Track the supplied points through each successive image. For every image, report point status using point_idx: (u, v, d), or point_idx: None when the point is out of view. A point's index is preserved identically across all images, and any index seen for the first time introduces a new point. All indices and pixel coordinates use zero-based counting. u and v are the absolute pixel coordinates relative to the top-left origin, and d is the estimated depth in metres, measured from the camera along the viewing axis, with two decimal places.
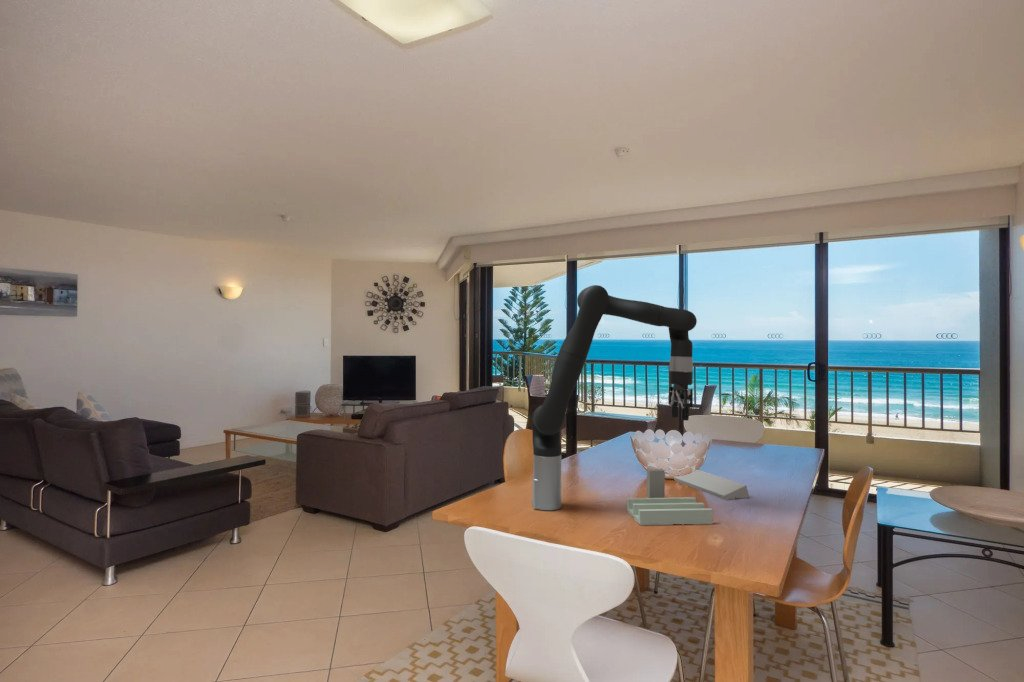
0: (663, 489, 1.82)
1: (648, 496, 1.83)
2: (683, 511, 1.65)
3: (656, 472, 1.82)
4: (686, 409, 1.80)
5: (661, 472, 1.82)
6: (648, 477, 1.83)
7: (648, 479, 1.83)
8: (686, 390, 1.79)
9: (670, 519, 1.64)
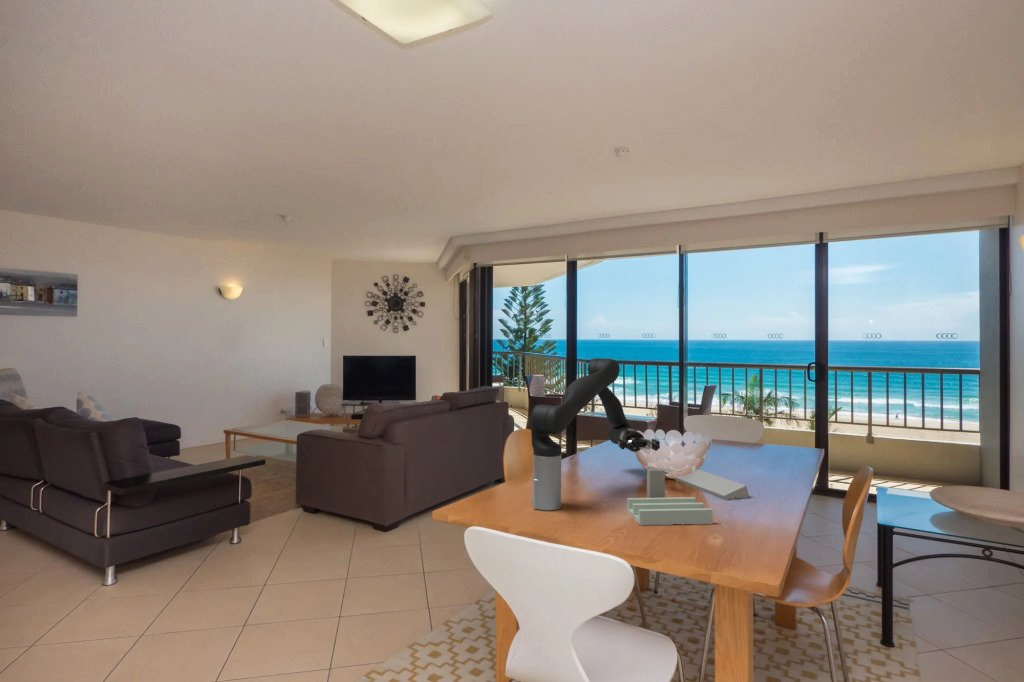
0: (663, 489, 1.82)
1: (648, 496, 1.83)
2: (683, 511, 1.65)
3: (656, 472, 1.82)
4: None
5: (661, 472, 1.82)
6: (648, 477, 1.83)
7: (648, 479, 1.83)
8: None
9: (670, 519, 1.64)
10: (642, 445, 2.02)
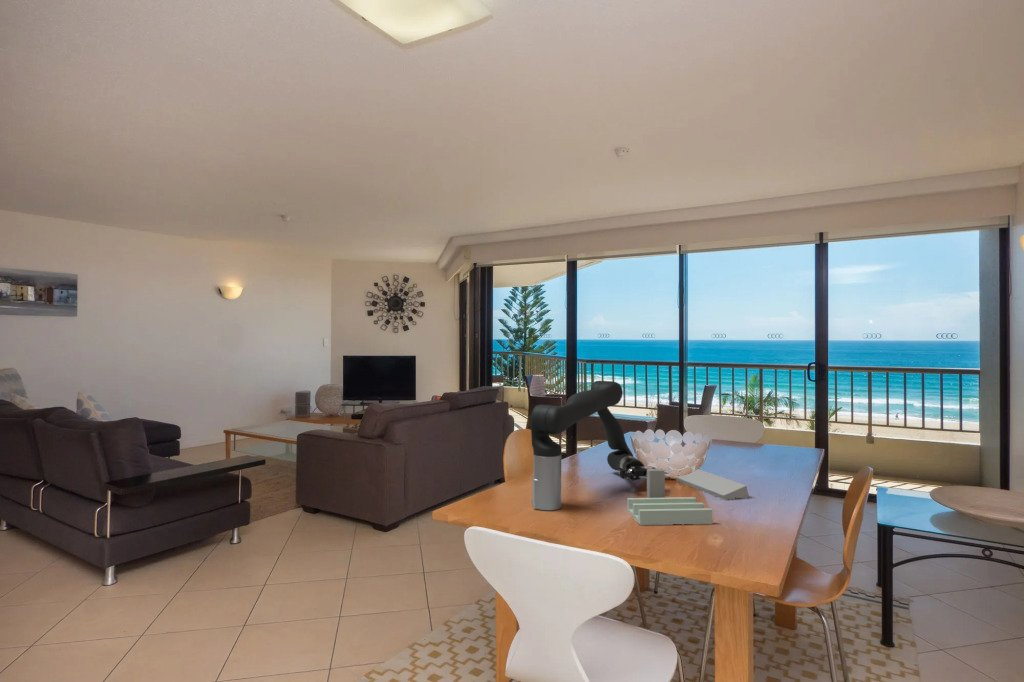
0: (663, 489, 1.82)
1: (648, 496, 1.83)
2: (683, 511, 1.65)
3: (656, 472, 1.82)
4: None
5: (661, 472, 1.82)
6: (648, 477, 1.83)
7: (648, 479, 1.83)
8: None
9: (670, 519, 1.64)
10: (642, 474, 2.01)
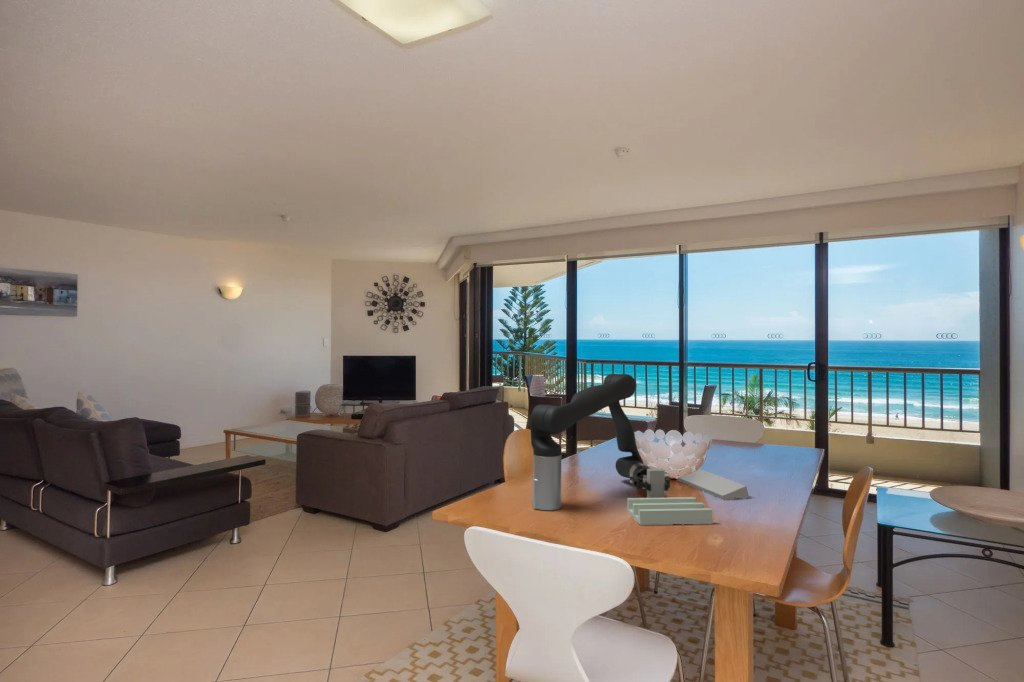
0: (663, 489, 1.82)
1: (648, 496, 1.83)
2: (683, 511, 1.65)
3: (656, 472, 1.82)
4: None
5: (661, 472, 1.82)
6: (648, 477, 1.83)
7: (648, 479, 1.83)
8: None
9: (670, 519, 1.64)
10: None
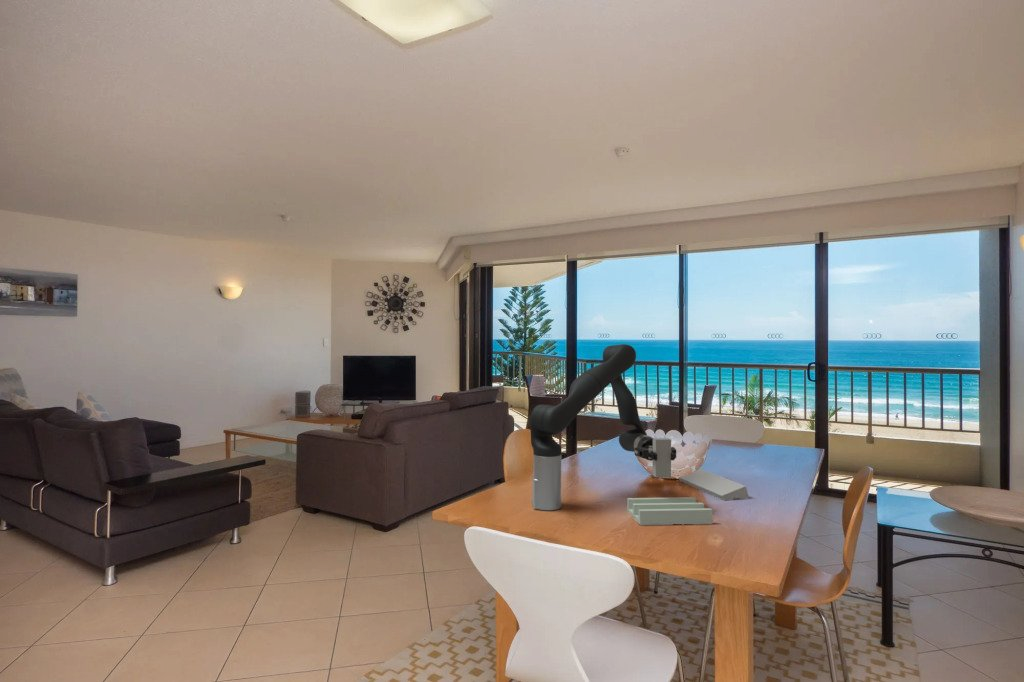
0: (669, 458, 1.76)
1: (654, 466, 1.77)
2: (683, 511, 1.65)
3: (662, 441, 1.76)
4: None
5: (667, 441, 1.76)
6: (654, 446, 1.77)
7: (654, 448, 1.77)
8: None
9: (670, 519, 1.64)
10: None
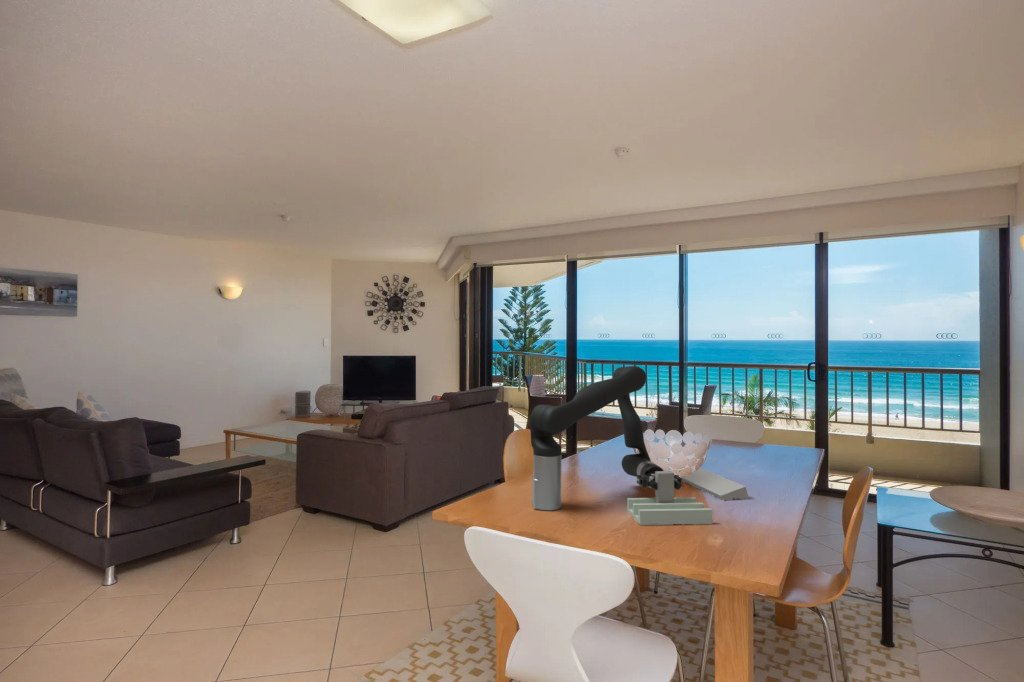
0: (672, 492, 1.73)
1: (657, 500, 1.74)
2: (683, 511, 1.65)
3: (665, 475, 1.73)
4: None
5: (670, 475, 1.73)
6: (656, 480, 1.74)
7: (657, 482, 1.74)
8: None
9: (670, 519, 1.64)
10: None
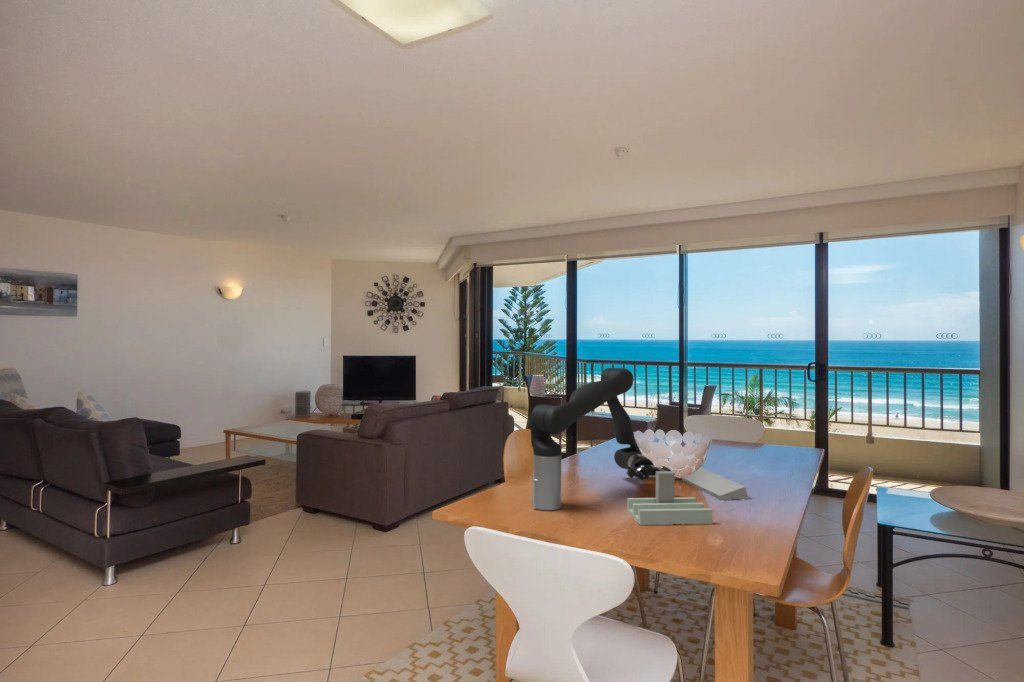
0: (673, 493, 1.73)
1: (657, 500, 1.74)
2: (683, 511, 1.65)
3: (665, 475, 1.73)
4: None
5: (671, 475, 1.73)
6: (657, 480, 1.74)
7: (657, 482, 1.74)
8: None
9: (670, 519, 1.64)
10: (652, 473, 1.90)
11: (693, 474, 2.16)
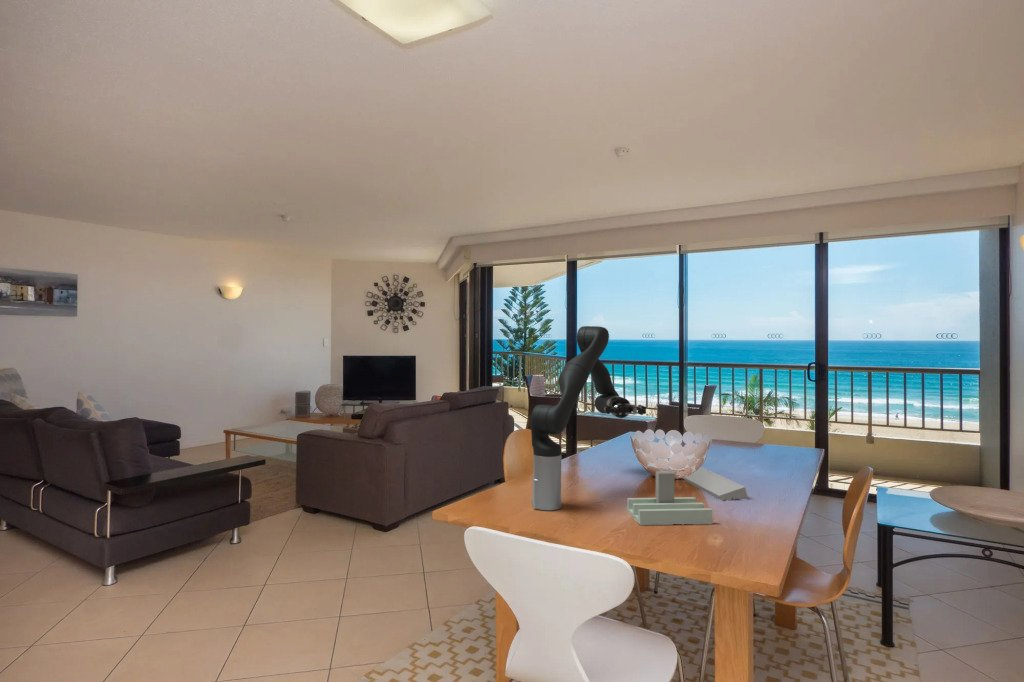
0: (673, 493, 1.73)
1: (657, 500, 1.74)
2: (683, 511, 1.65)
3: (665, 475, 1.73)
4: None
5: (671, 475, 1.73)
6: (657, 480, 1.74)
7: (657, 482, 1.74)
8: None
9: (670, 519, 1.64)
10: (628, 410, 1.98)
11: (695, 474, 2.16)
